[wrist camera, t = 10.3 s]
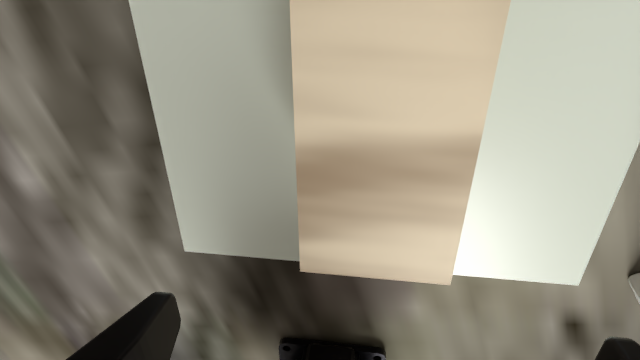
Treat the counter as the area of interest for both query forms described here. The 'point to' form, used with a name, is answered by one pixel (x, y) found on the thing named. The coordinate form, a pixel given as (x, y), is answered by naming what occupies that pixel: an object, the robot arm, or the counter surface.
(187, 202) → the sage mat
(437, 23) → the birch block
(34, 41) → the counter surface
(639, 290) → the ink box
